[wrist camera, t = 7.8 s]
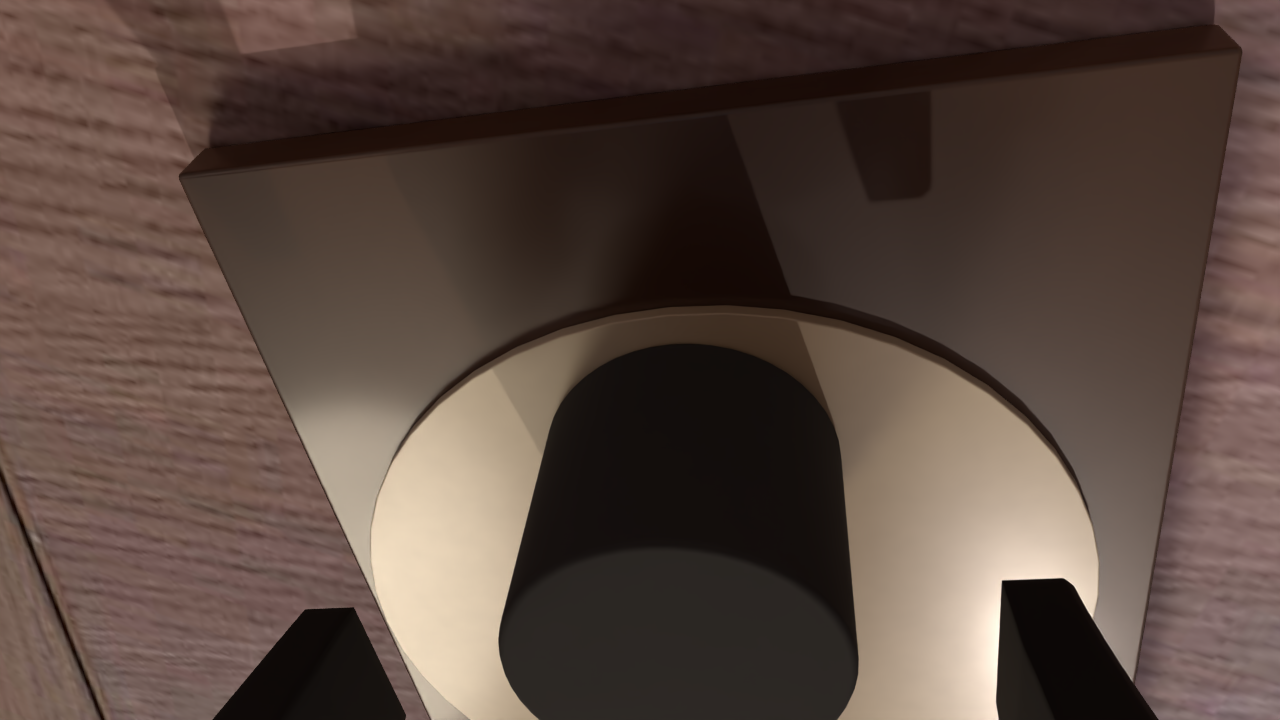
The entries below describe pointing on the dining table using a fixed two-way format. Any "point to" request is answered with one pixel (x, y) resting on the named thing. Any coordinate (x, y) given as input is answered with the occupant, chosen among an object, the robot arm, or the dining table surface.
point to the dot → (685, 549)
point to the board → (760, 325)
